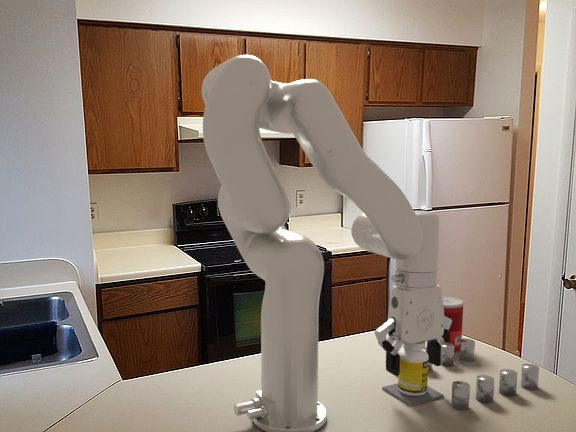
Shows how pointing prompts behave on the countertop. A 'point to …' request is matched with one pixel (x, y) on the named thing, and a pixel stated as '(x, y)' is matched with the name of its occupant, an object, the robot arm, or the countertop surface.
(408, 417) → the countertop surface
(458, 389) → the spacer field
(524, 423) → the countertop surface
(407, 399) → the mat
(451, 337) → the canned food
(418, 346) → the supplement bottle
